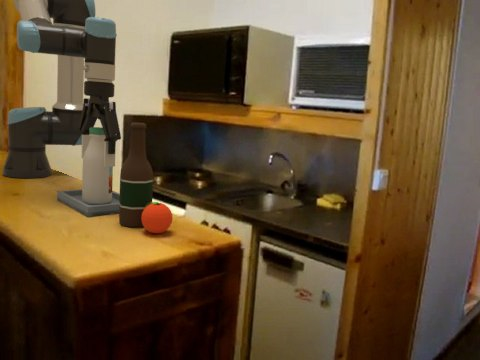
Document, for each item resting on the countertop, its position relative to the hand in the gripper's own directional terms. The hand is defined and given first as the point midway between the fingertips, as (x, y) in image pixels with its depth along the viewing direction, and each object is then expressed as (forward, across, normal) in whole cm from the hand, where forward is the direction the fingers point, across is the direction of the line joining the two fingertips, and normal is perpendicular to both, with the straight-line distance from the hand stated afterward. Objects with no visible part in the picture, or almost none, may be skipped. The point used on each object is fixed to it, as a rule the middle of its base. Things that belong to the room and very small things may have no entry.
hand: (97, 162), depth 120 cm
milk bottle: (+11, 0, 0) cm, 11 cm away
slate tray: (+12, 0, 0) cm, 12 cm away
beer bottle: (+12, +21, 0) cm, 24 cm away
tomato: (+12, +29, +1) cm, 31 cm away
